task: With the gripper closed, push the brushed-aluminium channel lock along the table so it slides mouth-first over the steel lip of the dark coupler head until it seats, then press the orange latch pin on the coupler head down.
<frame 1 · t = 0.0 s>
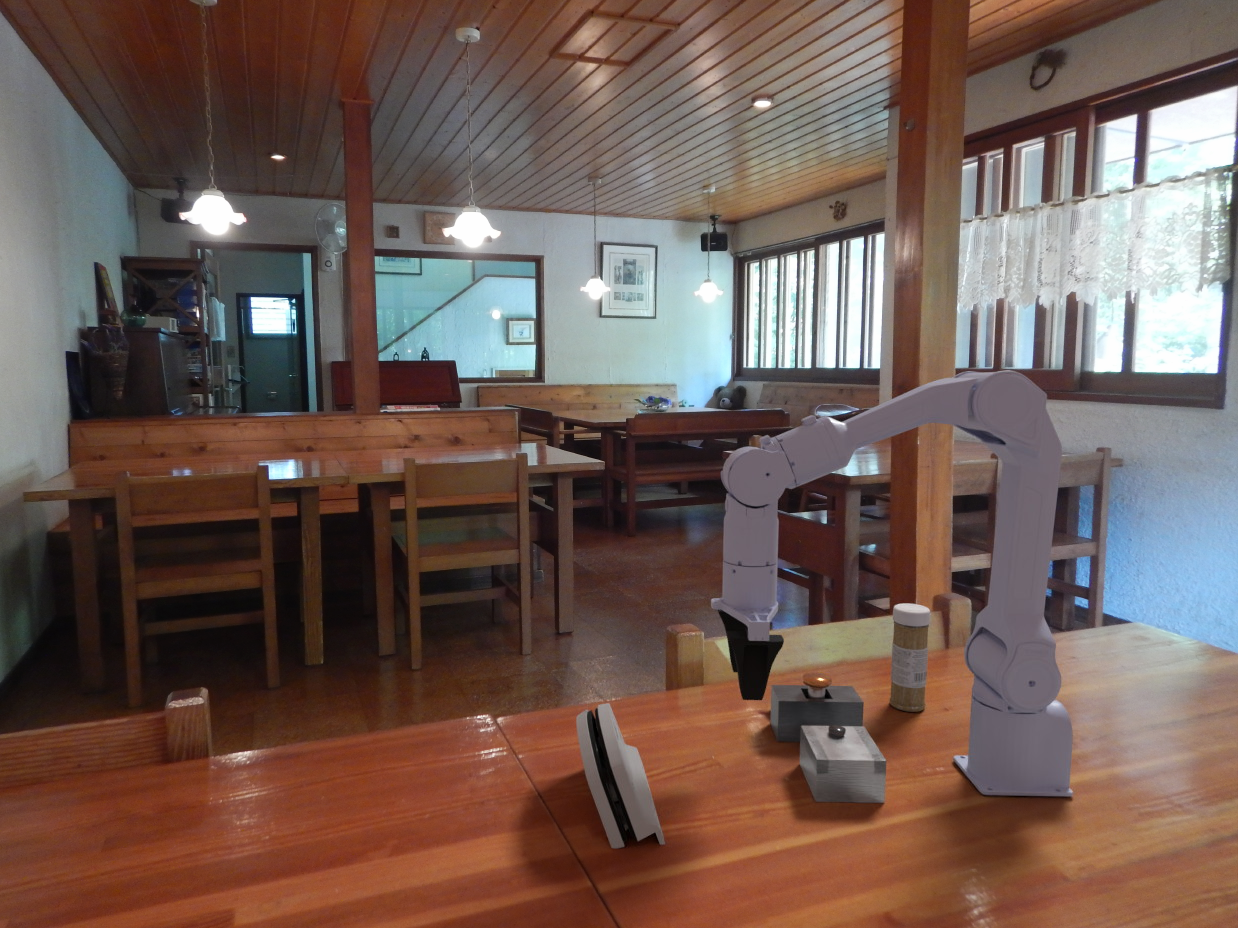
hand: (746, 684, 86), 10 cm above the table, tool pointing down, fingers open, 7 cm apart
coupler: (819, 741, 95), on the table
sprinkles bottle: (906, 707, 106), on the table
grey slotted block: (615, 804, 81), on the table
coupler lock: (840, 782, 85), on the table
latch pin: (816, 695, 97), point 5 cm above the table, slide at 0.0 cm
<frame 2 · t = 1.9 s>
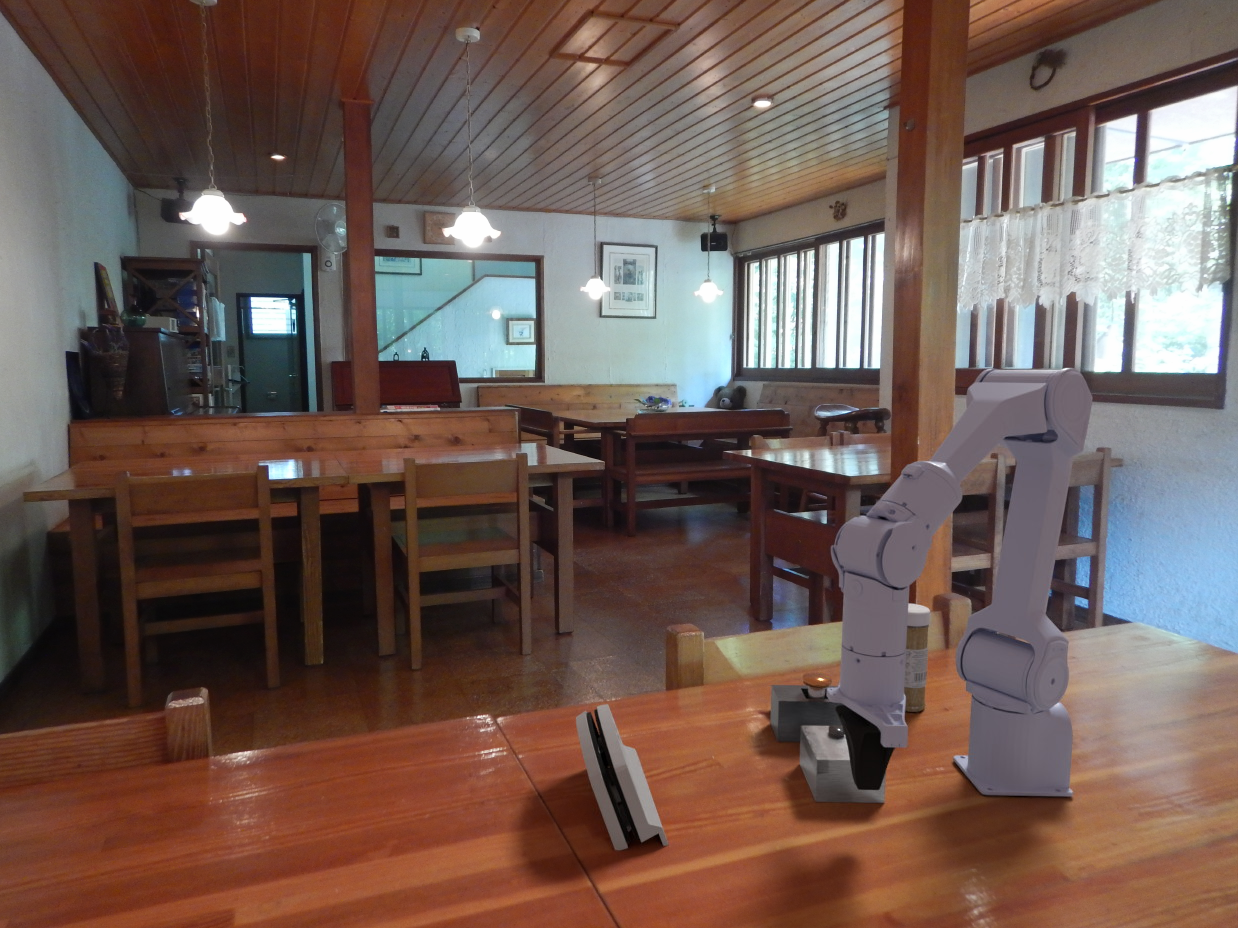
hand: (866, 786, 76), 5 cm above the table, tool pointing down, fingers closed
nothing on the table moved.
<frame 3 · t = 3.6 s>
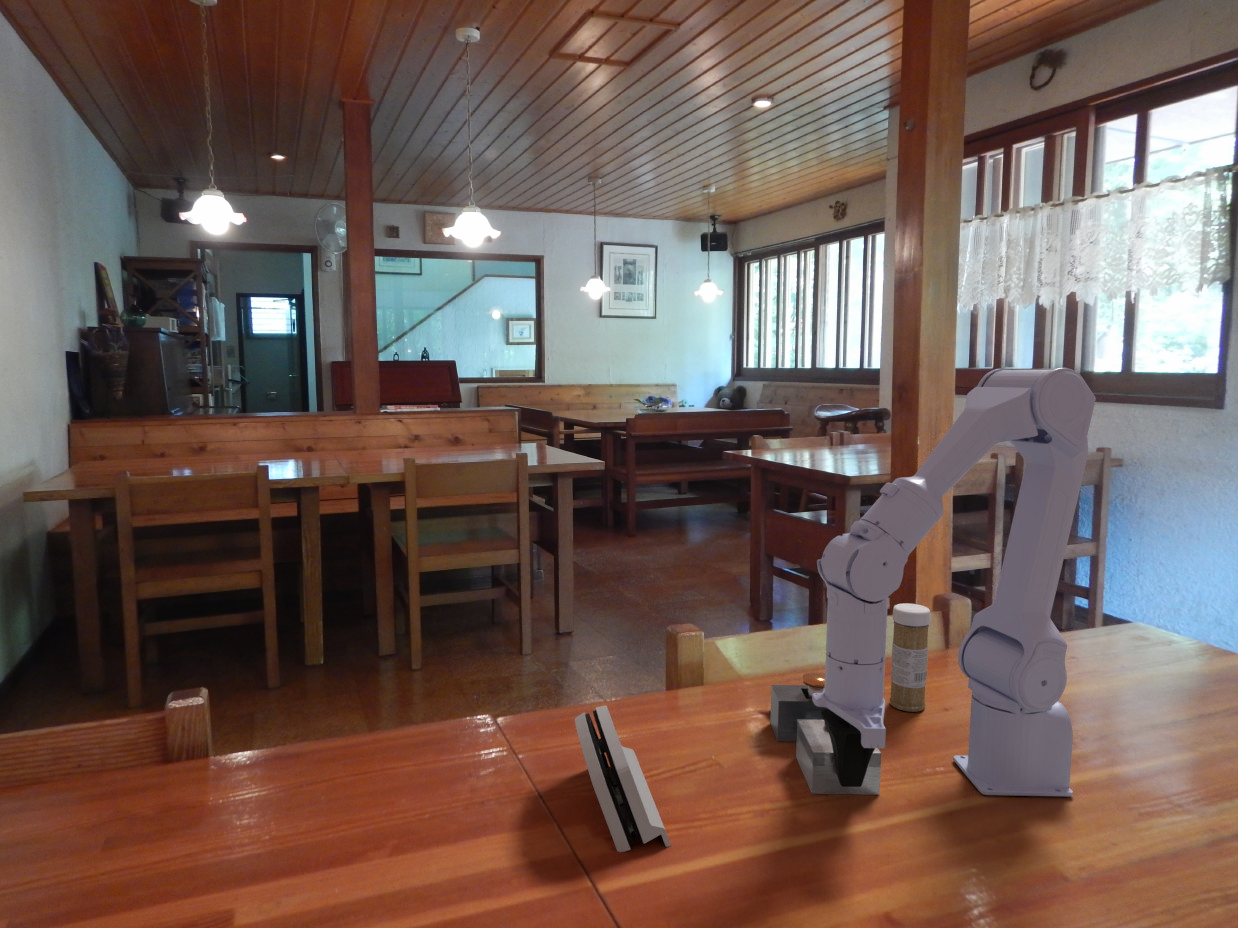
hand: (849, 783, 82), 2 cm above the table, tool pointing down, fingers closed
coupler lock: (835, 774, 87), on the table, touching gripper
everything else where it was.
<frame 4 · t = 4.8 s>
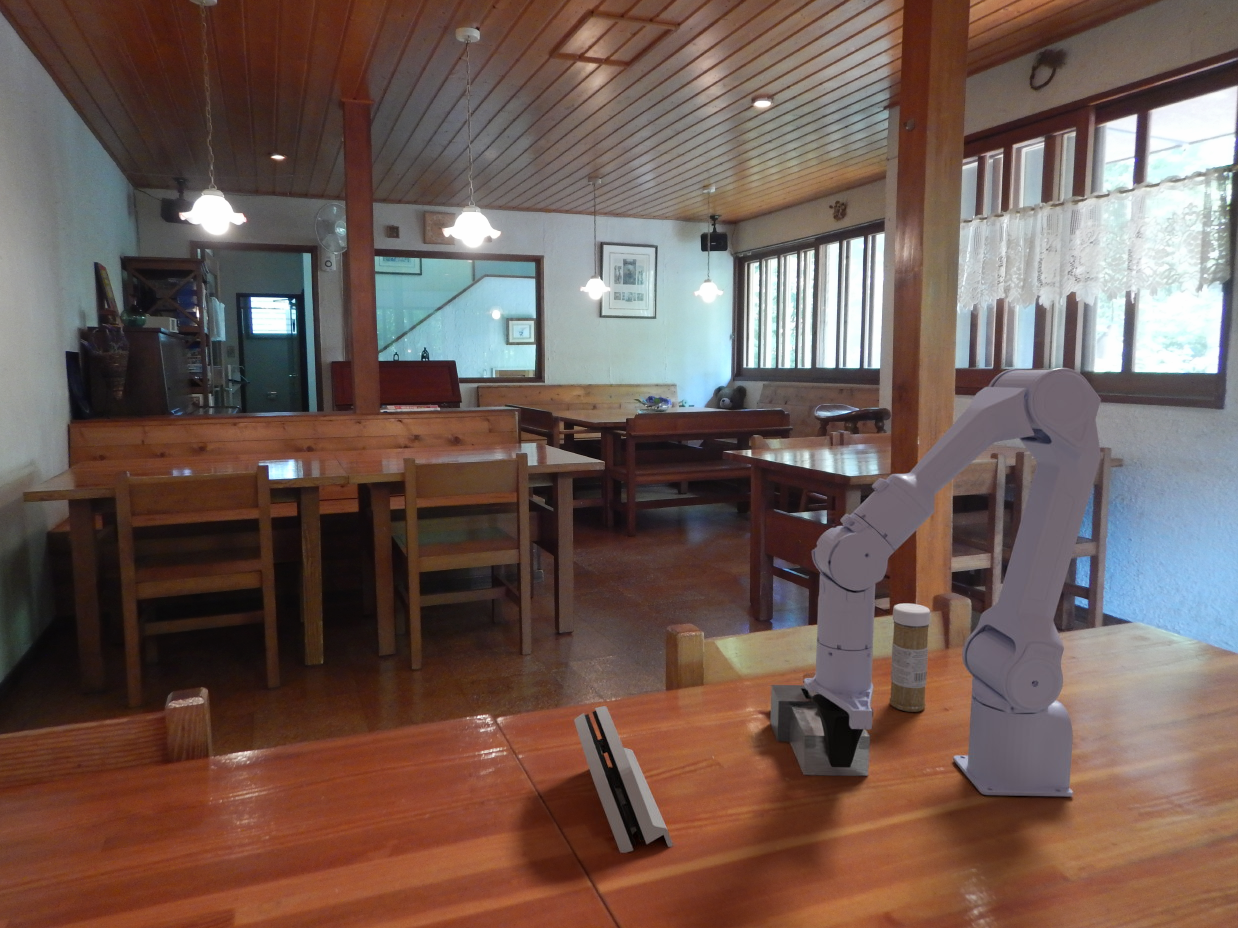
hand: (839, 764, 86), 2 cm above the table, tool pointing down, fingers closed
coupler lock: (827, 757, 91), resting in coupler, touching gripper
everything else where it was.
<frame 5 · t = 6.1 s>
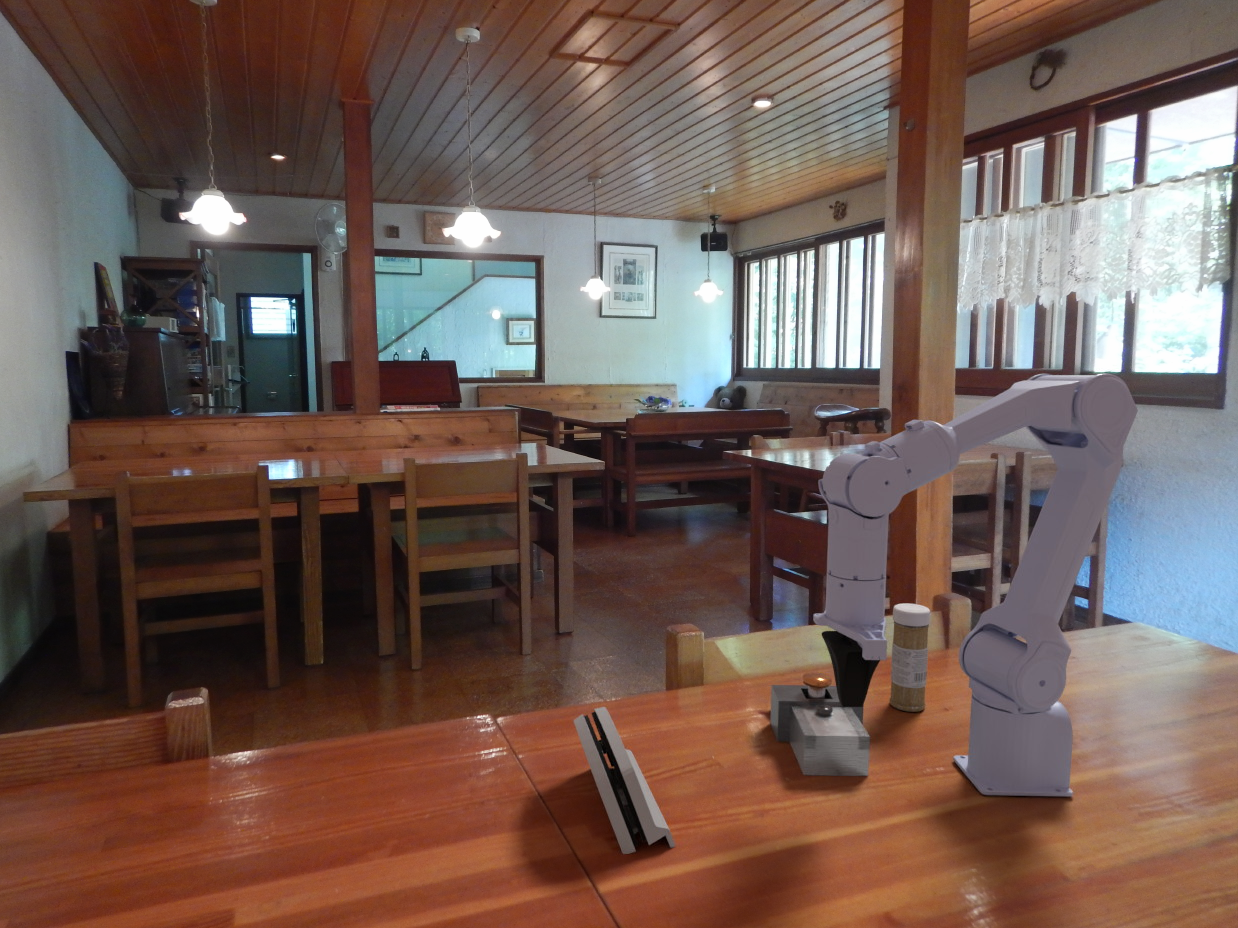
hand: (851, 704, 82), 10 cm above the table, tool pointing down, fingers closed
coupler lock: (827, 757, 91), resting in coupler
everything else where it was.
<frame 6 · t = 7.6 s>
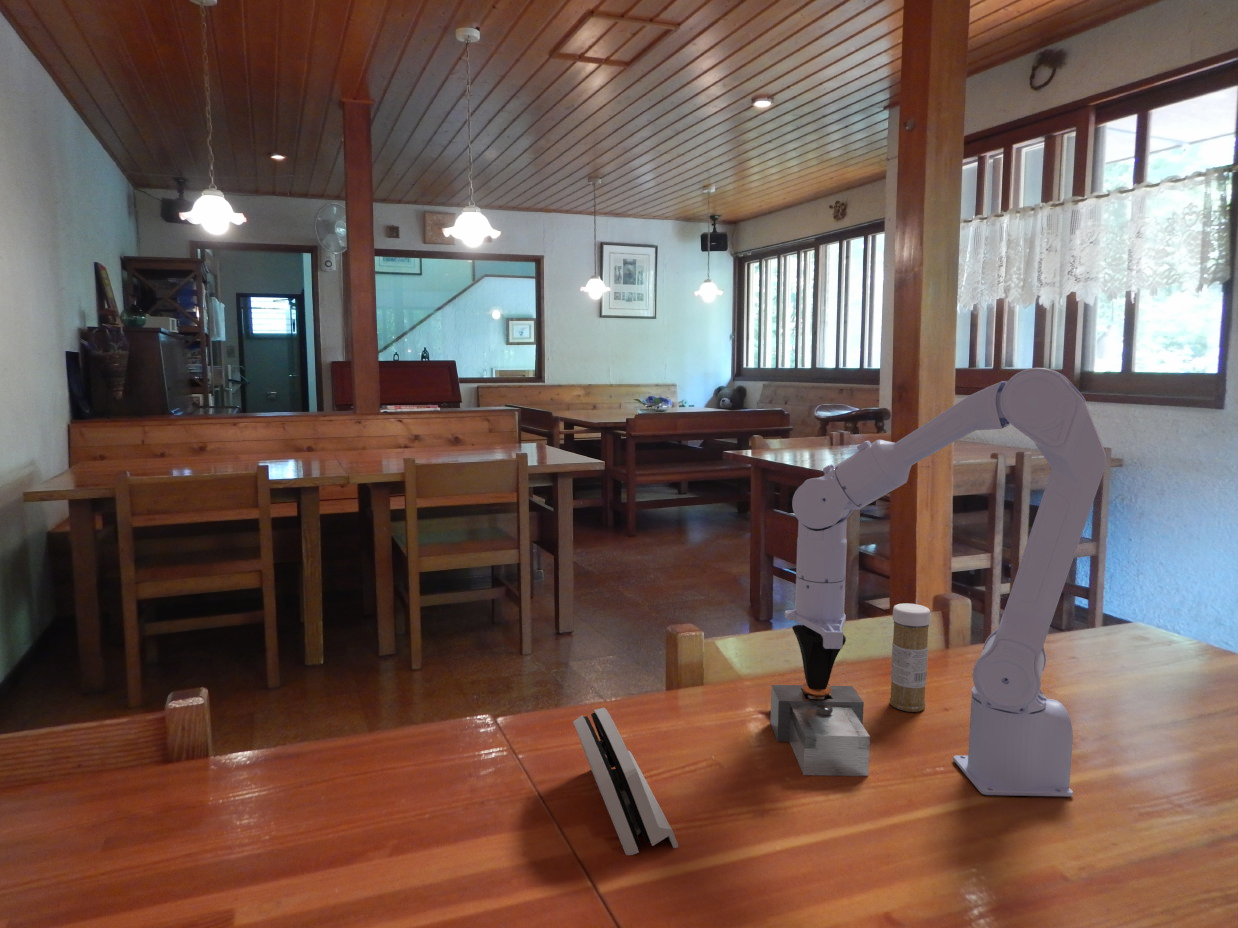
hand: (816, 686, 97), 6 cm above the table, tool pointing down, fingers closed, pressing on latch pin
latch pin: (816, 704, 97), point 4 cm above the table, slide at 1.1 cm, touching gripper
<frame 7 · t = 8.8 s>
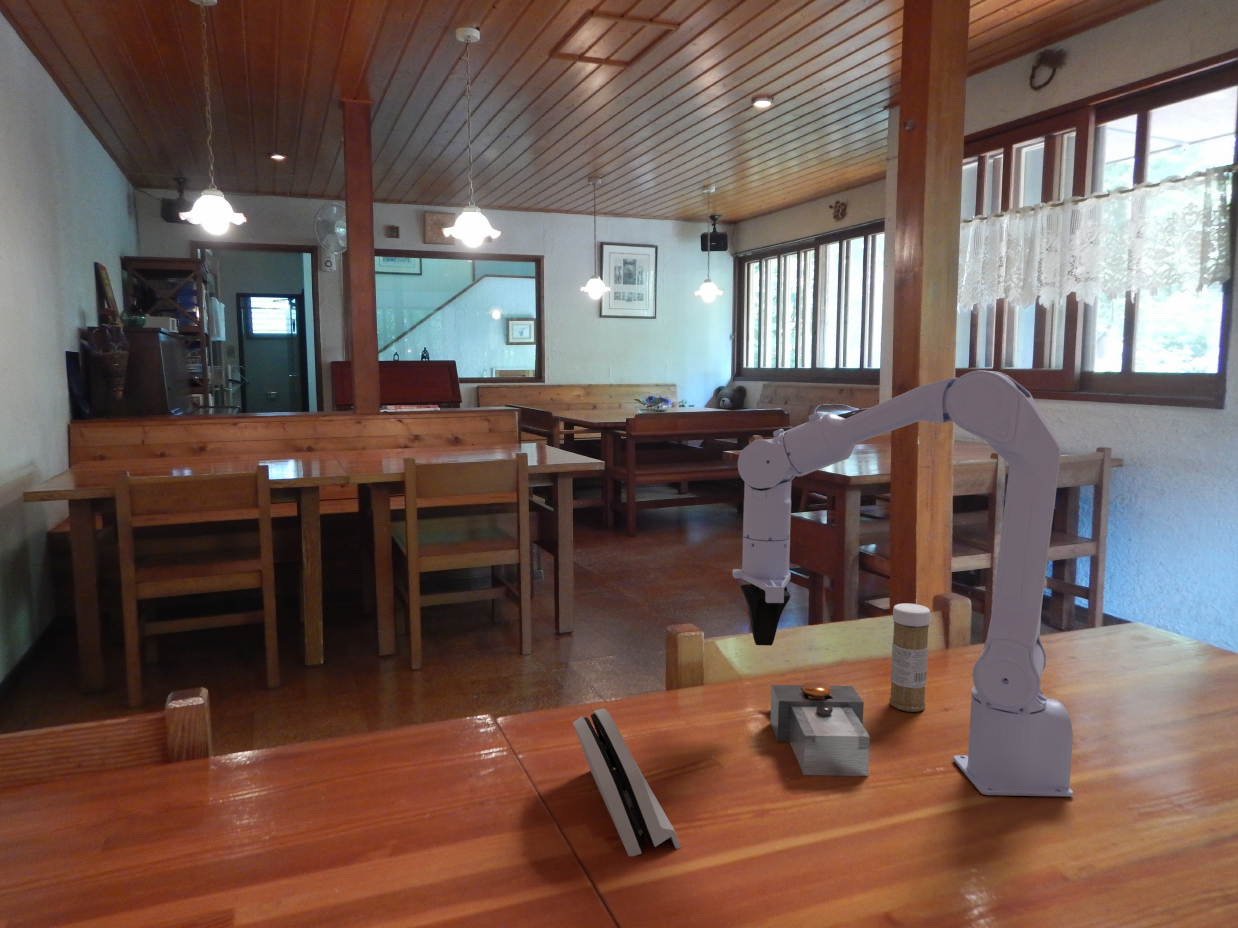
hand: (763, 643, 100), 10 cm above the table, tool pointing down, fingers closed
latch pin: (816, 704, 97), point 4 cm above the table, slide at 1.2 cm
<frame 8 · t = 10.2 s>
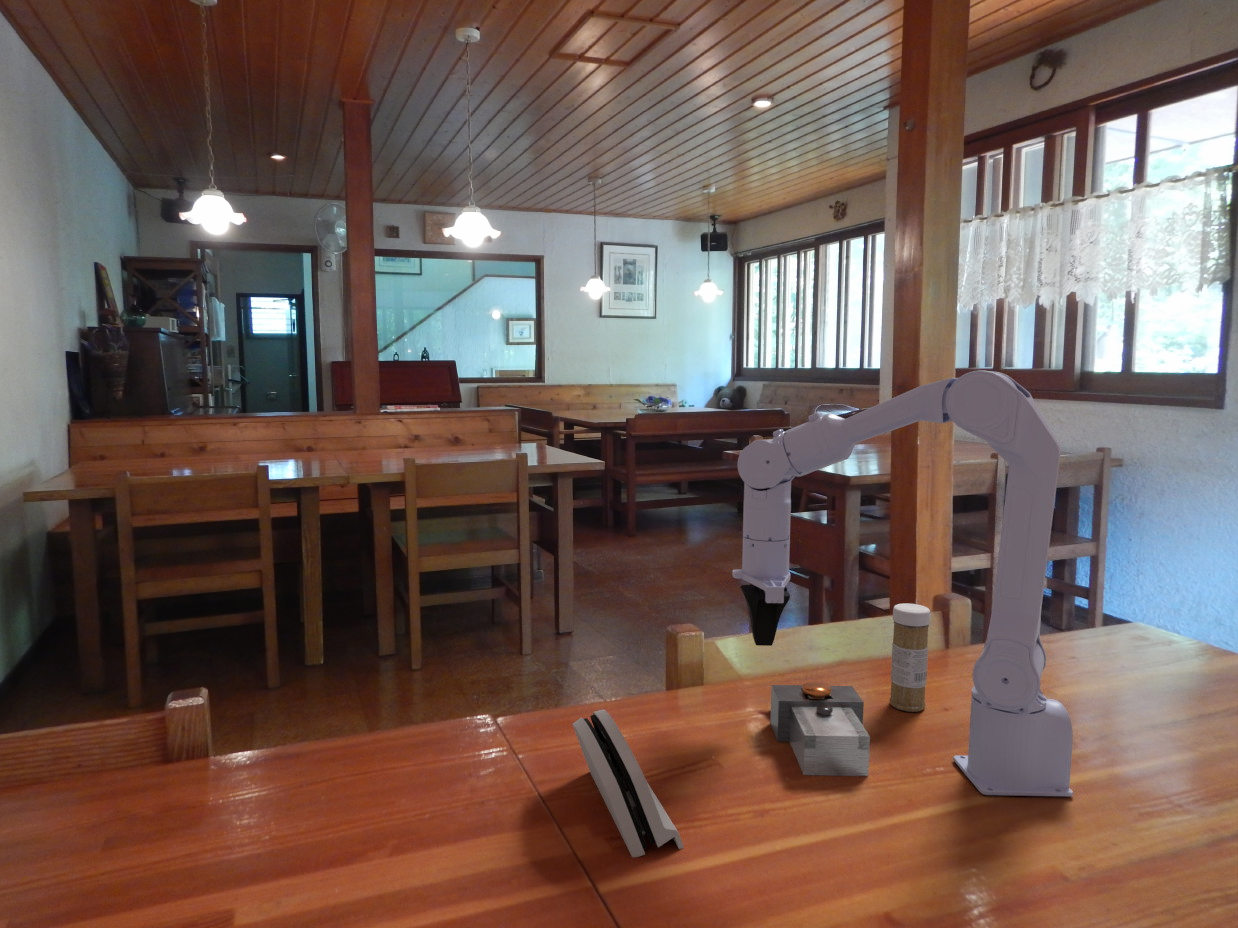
hand: (763, 643, 100), 10 cm above the table, tool pointing down, fingers closed
at the end: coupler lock 0.3 cm from the target spot on the coupler, point 0.0 cm above the coupler's base; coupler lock tilted 0°; latch pin slide at 1.2 cm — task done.
